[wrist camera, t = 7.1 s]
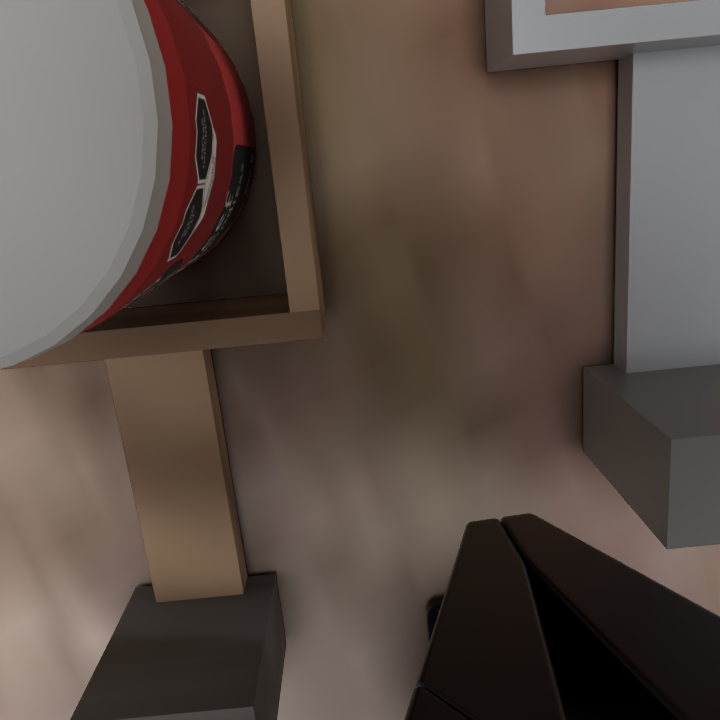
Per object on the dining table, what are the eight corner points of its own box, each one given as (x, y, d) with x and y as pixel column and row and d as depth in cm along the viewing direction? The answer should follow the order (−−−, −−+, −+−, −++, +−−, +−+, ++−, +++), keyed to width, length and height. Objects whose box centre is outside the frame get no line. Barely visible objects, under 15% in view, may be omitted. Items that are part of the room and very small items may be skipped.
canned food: (86, 312, 21) (-180, 459, 10) (-59, 61, 19) (-584, -81, 8) (305, 211, 20) (262, 258, 9) (181, -61, 18) (-53, -391, 7)
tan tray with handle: (361, 636, 24) (367, 783, 18) (76, 664, 24) (-8, 818, 18) (283, -66, 18) (254, -179, 12) (-105, -28, 18) (-320, -122, 12)
